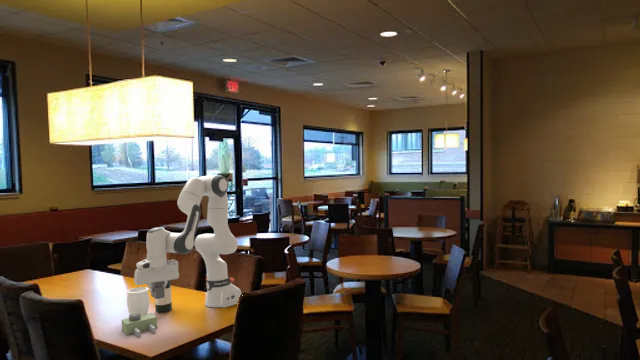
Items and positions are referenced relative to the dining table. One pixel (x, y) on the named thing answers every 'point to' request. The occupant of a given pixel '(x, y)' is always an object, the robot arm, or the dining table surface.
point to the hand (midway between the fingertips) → (157, 291)
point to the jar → (138, 300)
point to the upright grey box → (158, 290)
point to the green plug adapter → (139, 323)
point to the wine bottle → (164, 300)
